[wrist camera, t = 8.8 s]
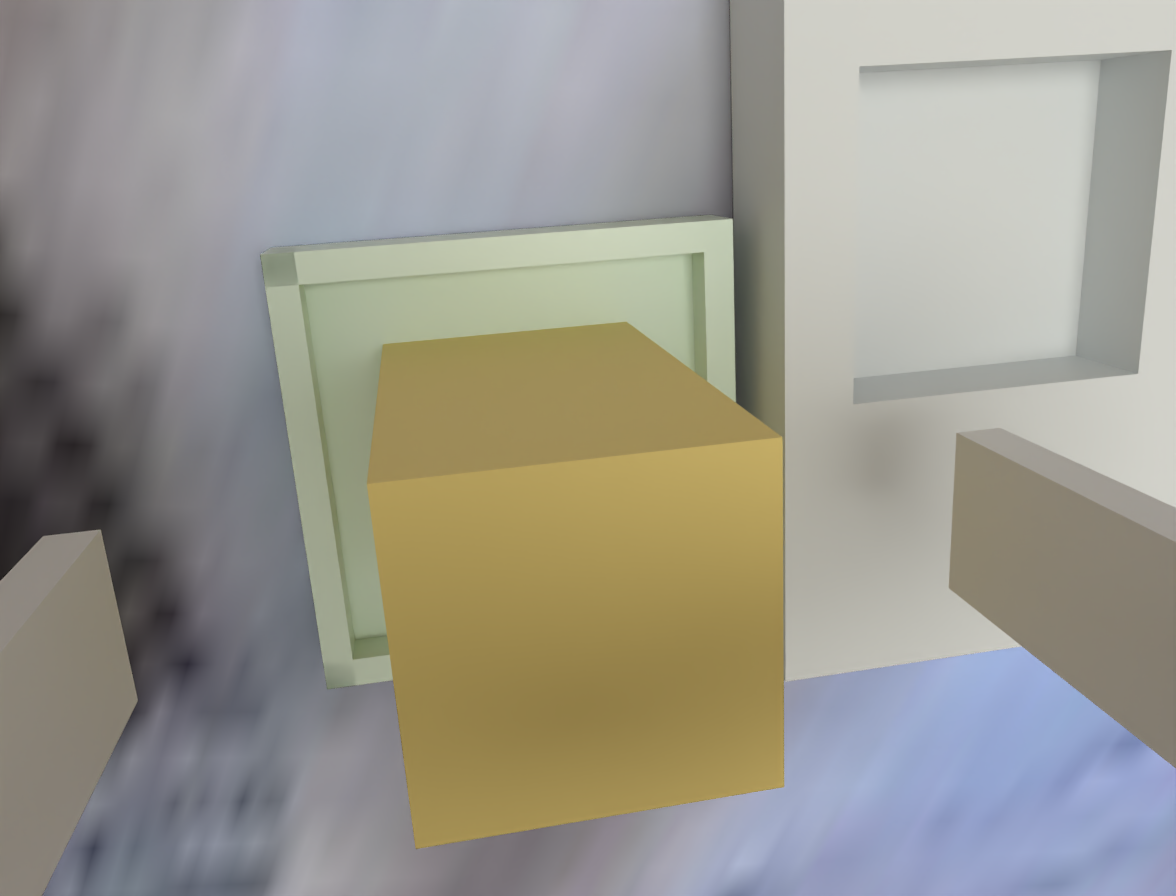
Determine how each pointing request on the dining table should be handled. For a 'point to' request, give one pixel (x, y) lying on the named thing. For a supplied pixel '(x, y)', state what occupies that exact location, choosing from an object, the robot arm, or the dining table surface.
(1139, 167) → the recessed block
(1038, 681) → the dining table surface
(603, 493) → the block
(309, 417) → the tray
